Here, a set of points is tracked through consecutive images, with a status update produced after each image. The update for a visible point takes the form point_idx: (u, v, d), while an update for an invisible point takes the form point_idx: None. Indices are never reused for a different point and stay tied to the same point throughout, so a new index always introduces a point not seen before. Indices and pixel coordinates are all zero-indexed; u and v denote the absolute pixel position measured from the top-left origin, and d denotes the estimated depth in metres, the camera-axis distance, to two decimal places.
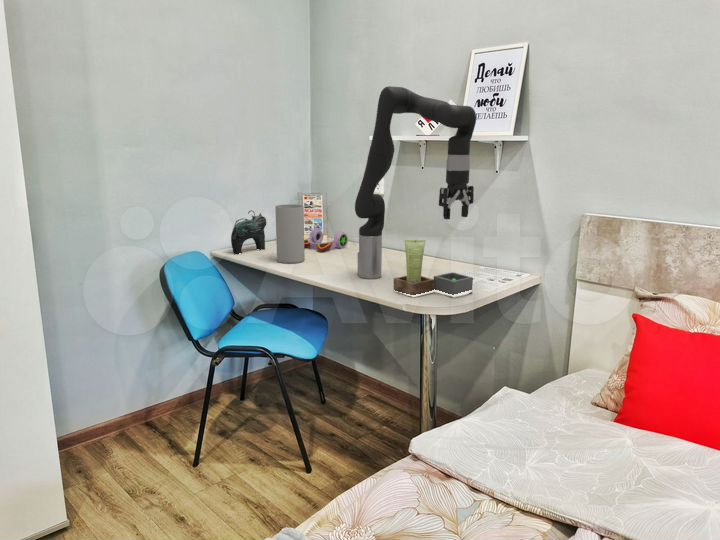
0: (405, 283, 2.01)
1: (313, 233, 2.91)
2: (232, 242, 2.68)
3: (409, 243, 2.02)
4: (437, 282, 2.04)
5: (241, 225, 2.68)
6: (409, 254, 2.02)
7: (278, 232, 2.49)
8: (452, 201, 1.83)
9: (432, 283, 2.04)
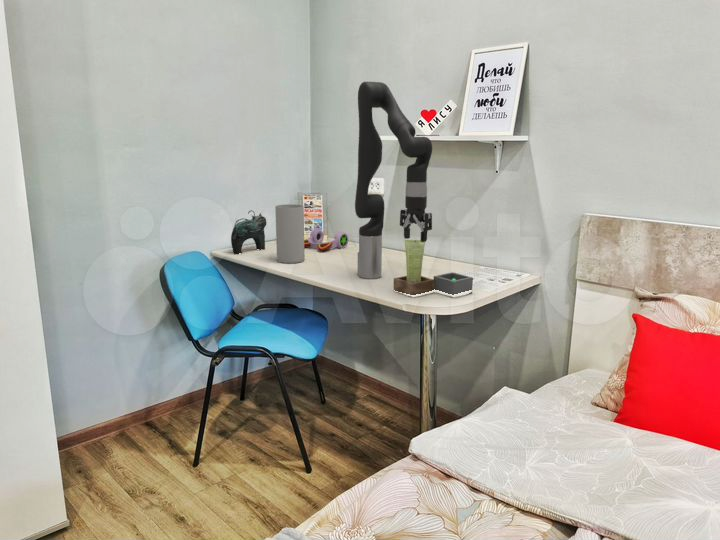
0: (405, 283, 2.01)
1: (314, 233, 2.91)
2: (232, 242, 2.68)
3: (409, 243, 2.02)
4: (437, 282, 2.04)
5: (241, 225, 2.68)
6: (409, 254, 2.02)
7: (278, 232, 2.49)
8: None
9: (432, 283, 2.04)
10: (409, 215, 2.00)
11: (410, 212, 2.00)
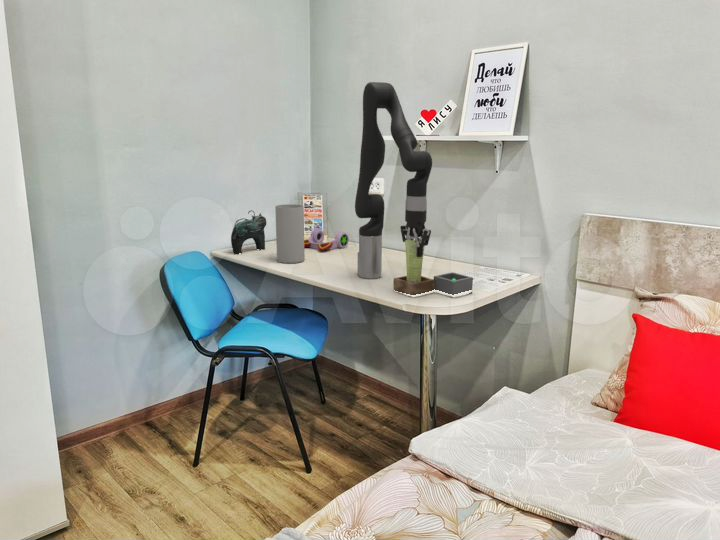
0: (405, 283, 2.01)
1: (314, 233, 2.91)
2: (232, 242, 2.68)
3: (409, 243, 2.02)
4: (437, 282, 2.04)
5: (241, 225, 2.68)
6: (409, 254, 2.02)
7: (278, 232, 2.49)
8: None
9: (432, 283, 2.04)
10: (409, 228, 2.01)
11: (410, 225, 2.01)
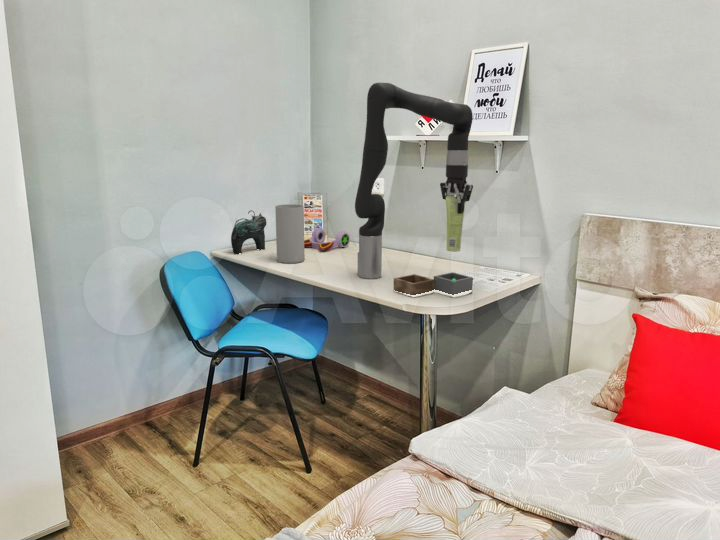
0: (405, 283, 2.01)
1: (315, 233, 2.92)
2: (232, 242, 2.68)
3: (450, 199, 1.97)
4: (437, 282, 2.04)
5: (241, 225, 2.68)
6: (450, 211, 1.97)
7: (278, 232, 2.49)
8: None
9: (432, 283, 2.04)
10: (449, 184, 1.96)
11: (450, 181, 1.97)
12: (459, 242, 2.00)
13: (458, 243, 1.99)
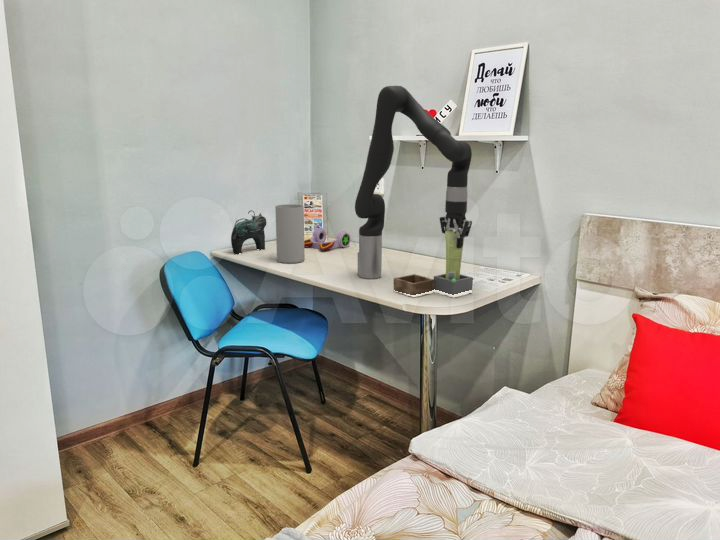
0: (405, 283, 2.01)
1: (316, 233, 2.92)
2: (232, 242, 2.68)
3: (449, 234, 2.01)
4: (437, 282, 2.04)
5: (241, 225, 2.68)
6: (450, 245, 2.00)
7: (278, 232, 2.49)
8: None
9: (432, 283, 2.04)
10: (449, 219, 2.00)
11: (450, 217, 2.00)
12: (458, 276, 2.03)
13: (457, 277, 2.03)
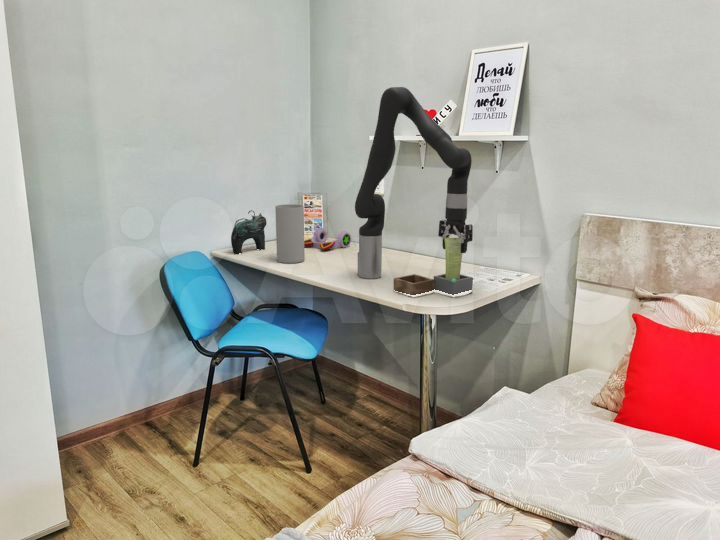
0: (405, 283, 2.01)
1: (317, 232, 2.93)
2: (232, 242, 2.68)
3: (449, 241, 2.01)
4: (437, 282, 2.04)
5: (241, 225, 2.68)
6: (449, 252, 2.01)
7: (278, 232, 2.49)
8: None
9: (432, 283, 2.04)
10: (449, 226, 2.00)
11: (450, 223, 2.01)
12: None
13: None
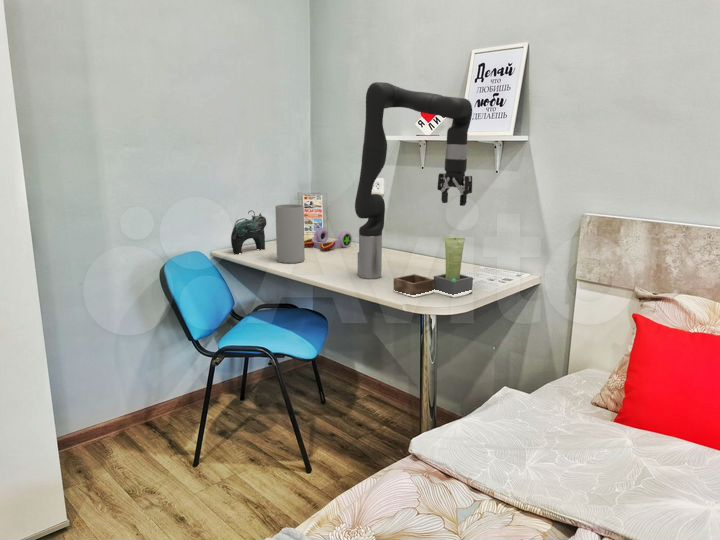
0: (405, 283, 2.01)
1: (318, 232, 2.93)
2: (232, 242, 2.68)
3: (449, 241, 2.01)
4: (437, 282, 2.04)
5: (241, 225, 2.68)
6: (449, 252, 2.01)
7: (278, 232, 2.49)
8: None
9: (432, 283, 2.04)
10: (448, 178, 1.97)
11: (449, 175, 1.97)
12: None
13: None
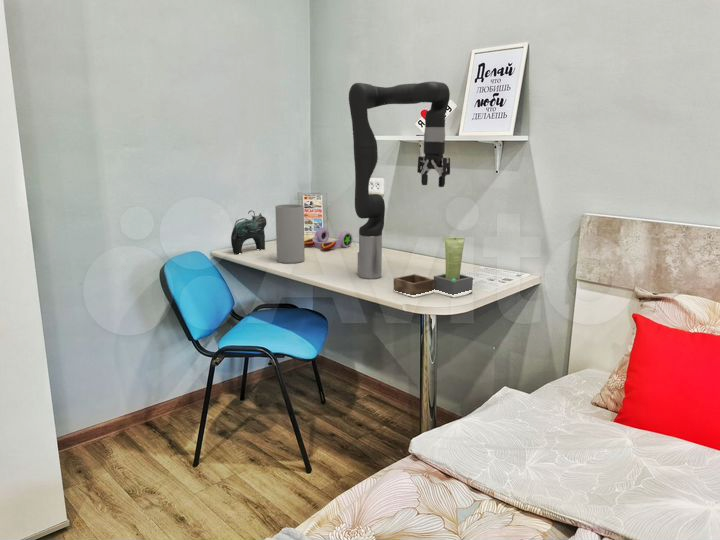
0: (405, 283, 2.01)
1: (318, 232, 2.94)
2: (232, 242, 2.68)
3: (449, 241, 2.01)
4: (437, 282, 2.04)
5: (241, 225, 2.68)
6: (449, 252, 2.01)
7: (278, 232, 2.49)
8: None
9: (432, 283, 2.04)
10: (427, 161, 2.03)
11: (428, 158, 2.03)
12: None
13: None
